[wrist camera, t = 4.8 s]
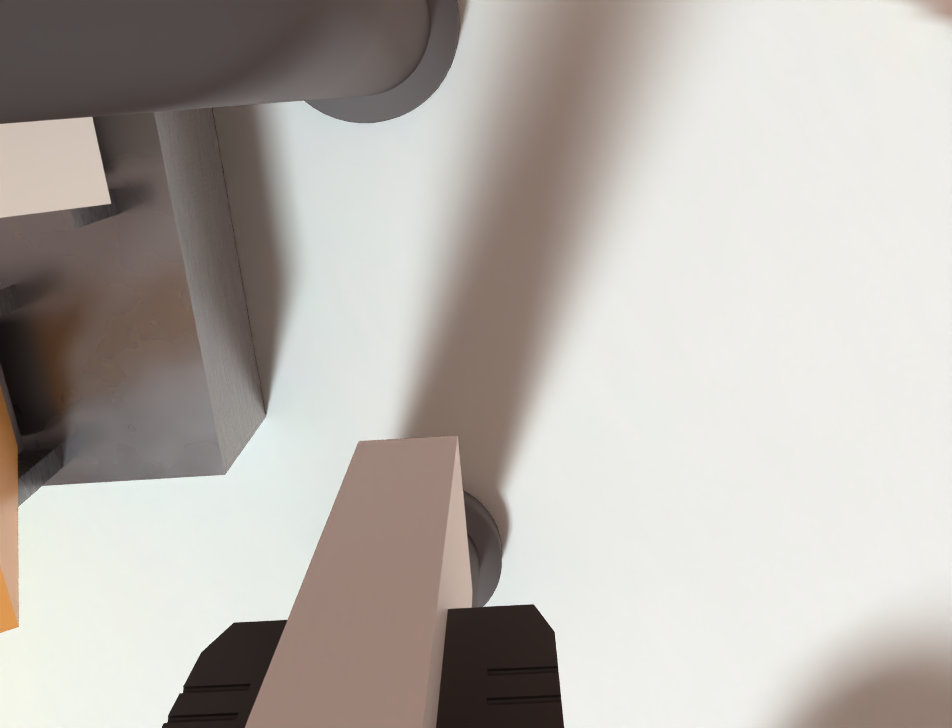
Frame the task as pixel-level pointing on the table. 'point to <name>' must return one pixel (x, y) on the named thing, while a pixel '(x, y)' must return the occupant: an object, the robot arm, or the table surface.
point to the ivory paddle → (50, 167)
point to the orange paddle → (8, 510)
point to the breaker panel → (131, 317)
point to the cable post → (222, 56)
